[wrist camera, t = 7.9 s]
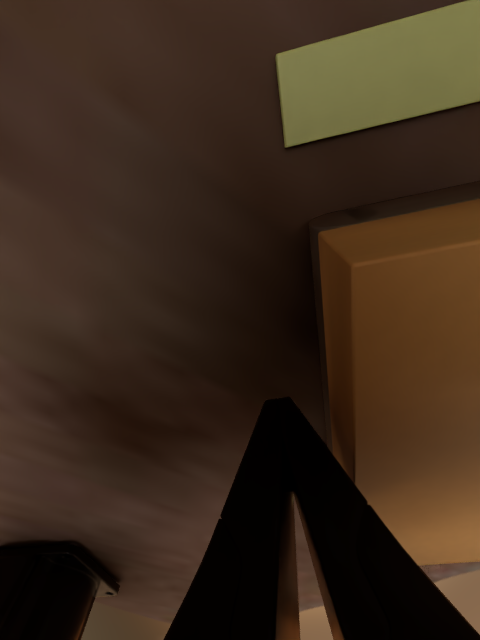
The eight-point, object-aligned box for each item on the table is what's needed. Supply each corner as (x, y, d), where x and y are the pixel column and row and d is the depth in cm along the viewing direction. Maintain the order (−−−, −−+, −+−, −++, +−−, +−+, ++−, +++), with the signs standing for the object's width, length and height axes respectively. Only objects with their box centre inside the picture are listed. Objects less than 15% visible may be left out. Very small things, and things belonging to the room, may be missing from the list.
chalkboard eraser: (452, 448, 11) (532, 558, 8) (325, 463, 12) (354, 570, 9) (528, 169, 6) (809, 178, 3) (302, 218, 7) (351, 265, 4)
